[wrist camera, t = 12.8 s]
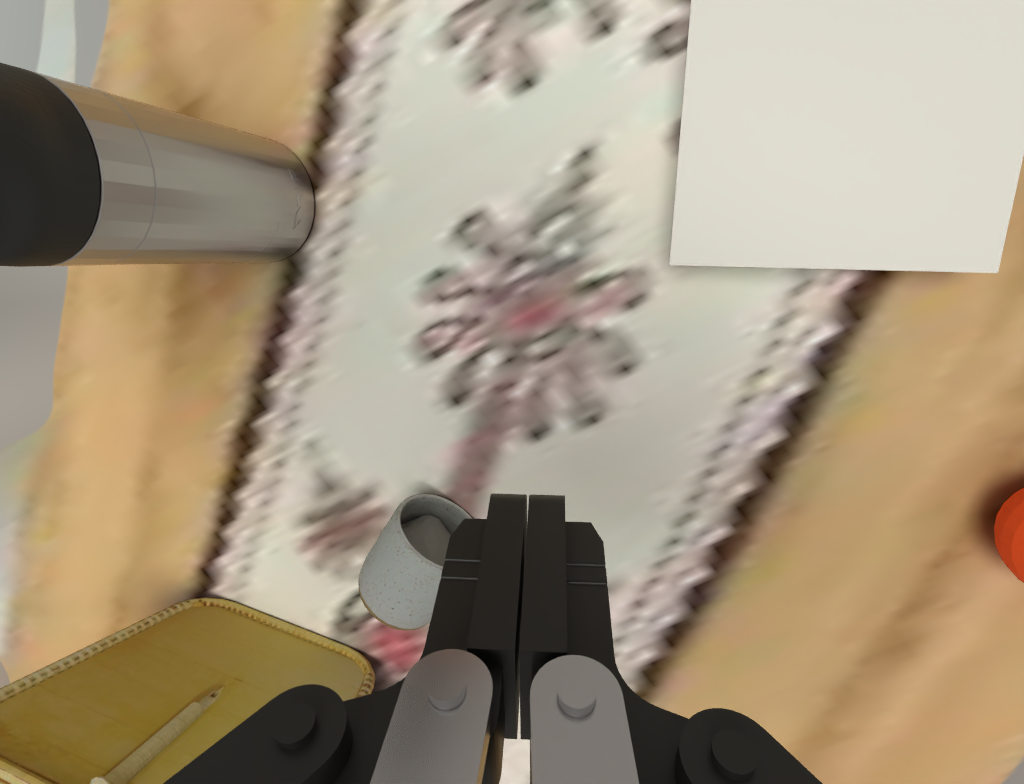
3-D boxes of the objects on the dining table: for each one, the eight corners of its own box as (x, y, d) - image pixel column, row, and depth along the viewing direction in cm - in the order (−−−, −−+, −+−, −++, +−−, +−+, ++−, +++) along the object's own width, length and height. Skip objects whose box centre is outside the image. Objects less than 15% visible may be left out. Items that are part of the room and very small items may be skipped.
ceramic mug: (379, 547, 49) (330, 599, 42) (425, 478, 46) (380, 521, 39) (479, 623, 48) (446, 688, 41) (531, 557, 46) (505, 615, 38)
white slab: (670, 263, 38) (669, 265, 33) (693, -14, 34) (696, -57, 29) (952, 270, 33) (997, 273, 29) (1015, -45, 30) (1079, -101, 25)
